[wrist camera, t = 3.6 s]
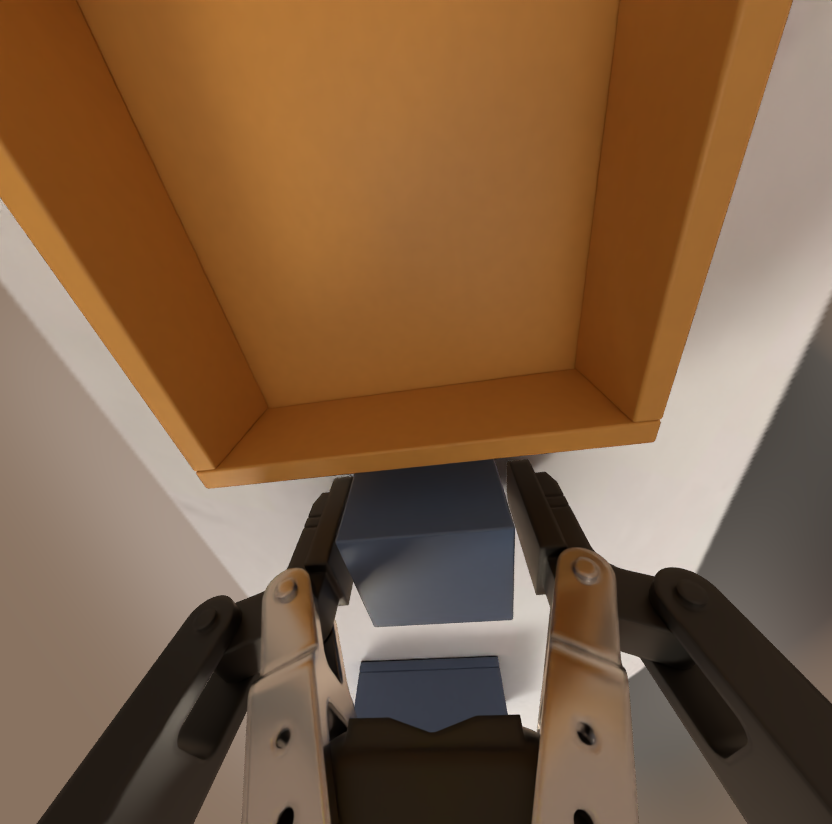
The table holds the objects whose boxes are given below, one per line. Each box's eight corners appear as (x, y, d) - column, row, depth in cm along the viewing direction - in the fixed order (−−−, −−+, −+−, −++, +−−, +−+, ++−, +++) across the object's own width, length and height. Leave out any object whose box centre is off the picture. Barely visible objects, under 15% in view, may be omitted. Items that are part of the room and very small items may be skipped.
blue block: (363, 437, 11) (333, 542, 7) (483, 423, 11) (515, 527, 7) (387, 516, 14) (374, 628, 10) (487, 507, 13) (513, 621, 9)
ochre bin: (17, -104, 5) (-541, -558, 2) (681, -327, 4) (1356, -1776, 1) (267, 415, 11) (205, 489, 8) (583, 375, 10) (655, 443, 7)
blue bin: (360, 661, 22) (350, 734, 18) (497, 656, 21) (510, 731, 18) (387, 708, 26) (383, 771, 23) (499, 705, 26) (510, 770, 22)
